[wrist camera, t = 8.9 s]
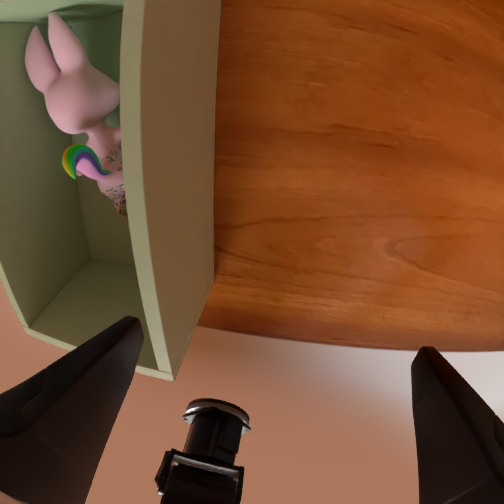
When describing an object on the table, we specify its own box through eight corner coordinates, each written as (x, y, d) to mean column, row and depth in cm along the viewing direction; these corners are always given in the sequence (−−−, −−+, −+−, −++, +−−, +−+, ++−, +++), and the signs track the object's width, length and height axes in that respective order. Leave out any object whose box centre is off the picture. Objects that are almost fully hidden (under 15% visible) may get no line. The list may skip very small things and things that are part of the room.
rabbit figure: (193, 181, 20) (96, -13, 10) (172, 242, 16) (31, -7, 6) (123, 204, 22) (28, 42, 12) (92, 262, 18) (-35, 71, 8)
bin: (214, 281, 23) (174, 382, 15) (89, 261, 24) (25, 333, 16) (222, -12, 13) (157, -80, 4) (69, 19, 14) (-33, 16, 6)
